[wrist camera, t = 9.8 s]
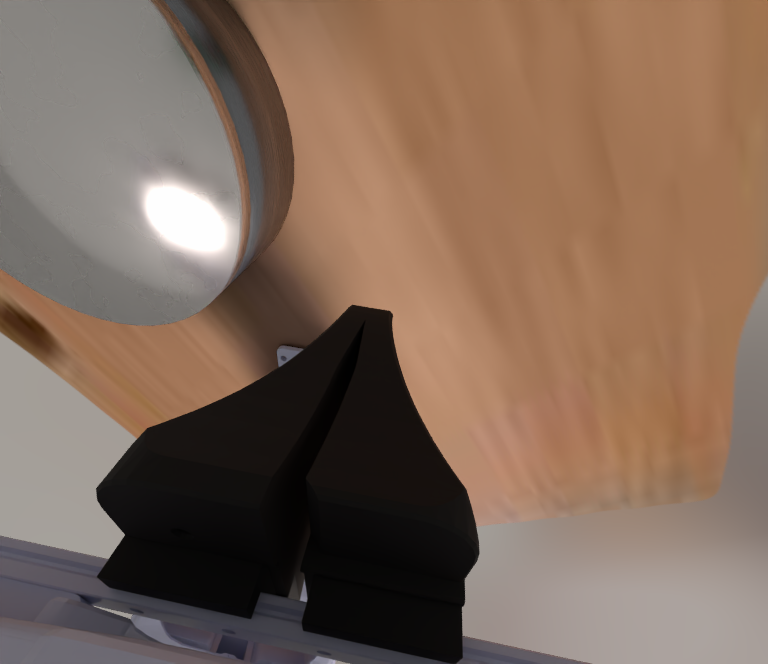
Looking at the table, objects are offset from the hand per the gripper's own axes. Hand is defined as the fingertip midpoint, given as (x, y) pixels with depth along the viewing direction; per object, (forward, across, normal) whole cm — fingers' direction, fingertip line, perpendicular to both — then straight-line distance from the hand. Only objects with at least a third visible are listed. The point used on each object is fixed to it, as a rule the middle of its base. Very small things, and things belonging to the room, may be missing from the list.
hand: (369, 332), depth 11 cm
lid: (+5, +16, -3) cm, 17 cm away
